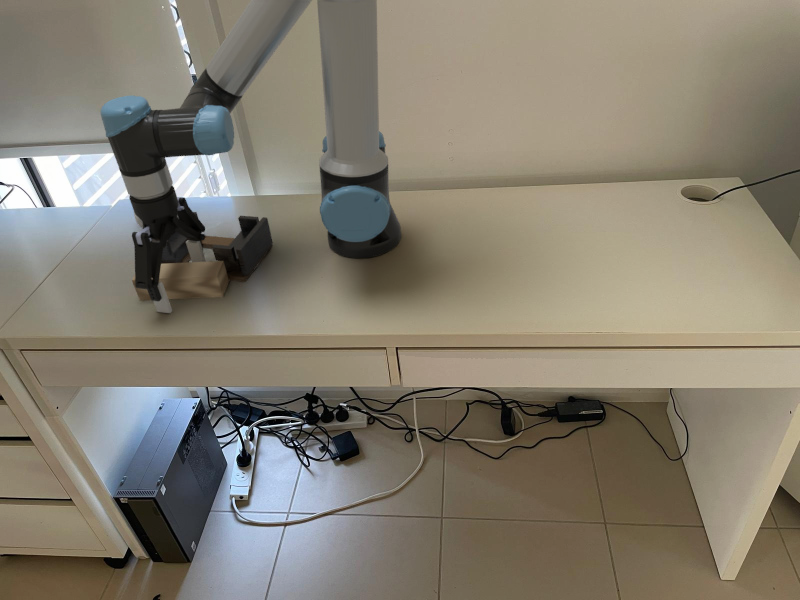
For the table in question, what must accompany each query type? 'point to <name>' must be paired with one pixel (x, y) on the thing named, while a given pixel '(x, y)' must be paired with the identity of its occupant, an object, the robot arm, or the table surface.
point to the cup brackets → (227, 247)
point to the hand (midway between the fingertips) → (183, 289)
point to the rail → (190, 280)
